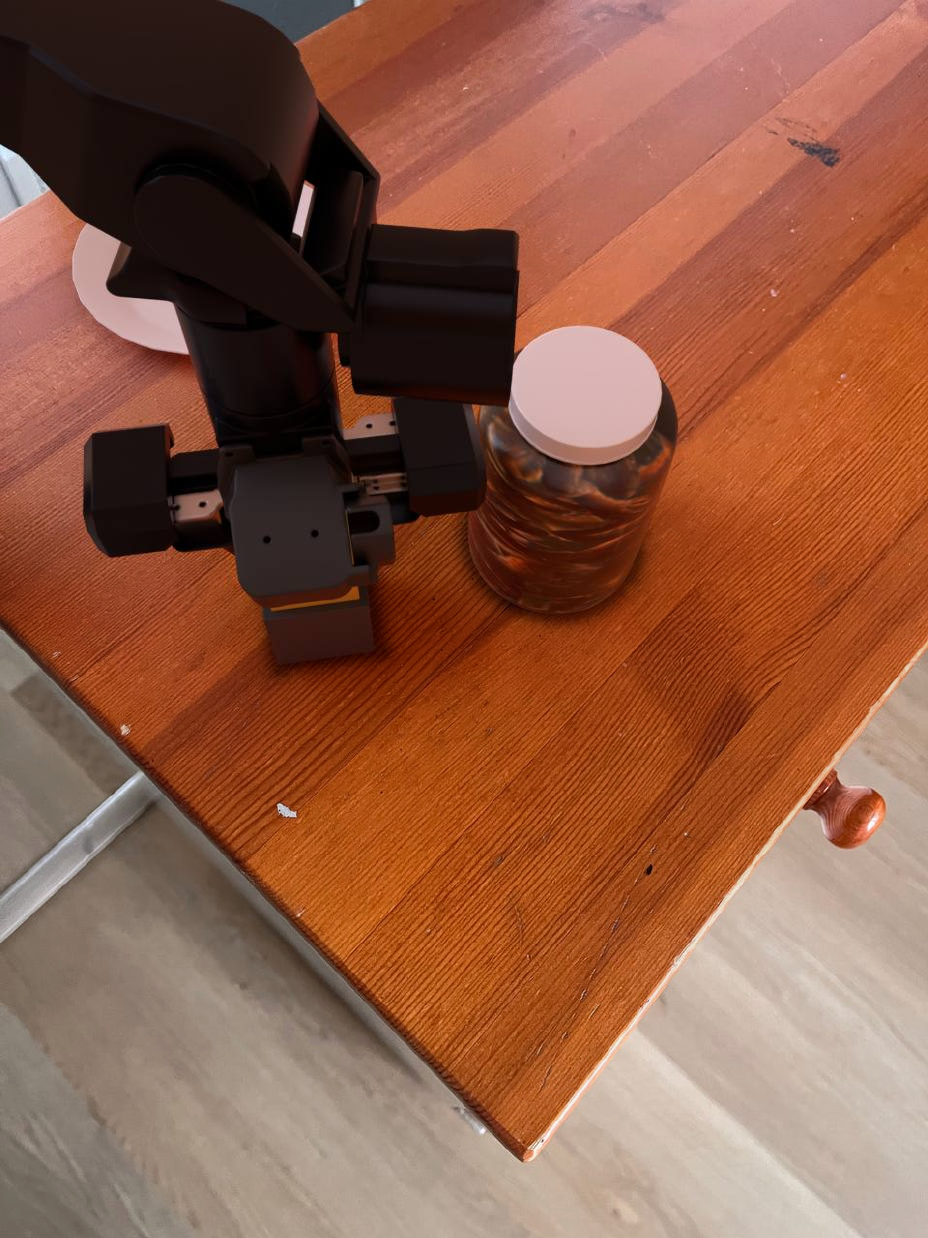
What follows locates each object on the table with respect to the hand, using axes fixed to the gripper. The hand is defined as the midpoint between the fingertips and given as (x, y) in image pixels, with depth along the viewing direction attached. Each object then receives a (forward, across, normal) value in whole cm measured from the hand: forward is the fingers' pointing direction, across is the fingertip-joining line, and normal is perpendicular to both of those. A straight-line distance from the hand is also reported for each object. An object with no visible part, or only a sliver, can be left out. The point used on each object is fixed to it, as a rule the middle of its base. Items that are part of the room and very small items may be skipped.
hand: (308, 559), depth 51 cm
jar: (+7, +16, +4) cm, 18 cm away
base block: (+7, 0, 0) cm, 7 cm away
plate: (+7, -5, +32) cm, 33 cm away
